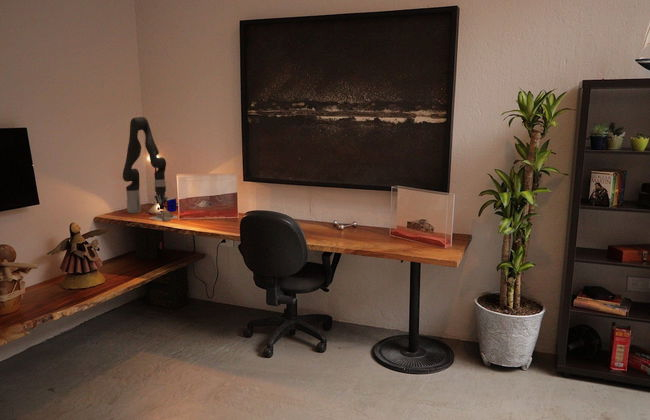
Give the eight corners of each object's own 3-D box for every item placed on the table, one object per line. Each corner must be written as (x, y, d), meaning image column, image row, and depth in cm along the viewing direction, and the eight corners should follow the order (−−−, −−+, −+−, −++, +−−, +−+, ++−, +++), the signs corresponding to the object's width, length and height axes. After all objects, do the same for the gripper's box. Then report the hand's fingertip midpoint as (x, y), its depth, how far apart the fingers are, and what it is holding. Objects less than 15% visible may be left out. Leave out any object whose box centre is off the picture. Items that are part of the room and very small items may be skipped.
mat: (147, 218, 377) (147, 217, 377) (166, 214, 389) (166, 214, 389) (160, 221, 367) (160, 220, 367) (179, 217, 380) (179, 216, 380)
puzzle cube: (168, 213, 394) (167, 200, 392) (158, 212, 399) (157, 199, 397) (177, 211, 403) (176, 198, 401) (167, 209, 408) (166, 197, 406)
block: (161, 221, 368) (161, 211, 366) (166, 220, 371) (166, 210, 369) (165, 222, 365) (164, 212, 364) (170, 221, 368) (169, 211, 367)
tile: (156, 214, 378) (164, 216, 373) (165, 212, 384) (173, 214, 379) (156, 217, 378) (164, 219, 373) (165, 215, 385) (173, 217, 379)
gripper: (150, 185, 377) (151, 208, 381) (161, 186, 369) (162, 210, 373) (159, 184, 383) (160, 207, 387) (170, 185, 375) (171, 209, 379)
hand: (161, 209), depth 380 cm, fingers closed
